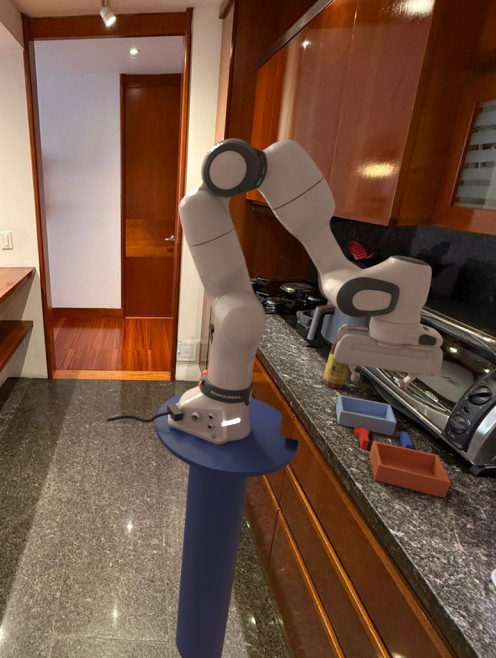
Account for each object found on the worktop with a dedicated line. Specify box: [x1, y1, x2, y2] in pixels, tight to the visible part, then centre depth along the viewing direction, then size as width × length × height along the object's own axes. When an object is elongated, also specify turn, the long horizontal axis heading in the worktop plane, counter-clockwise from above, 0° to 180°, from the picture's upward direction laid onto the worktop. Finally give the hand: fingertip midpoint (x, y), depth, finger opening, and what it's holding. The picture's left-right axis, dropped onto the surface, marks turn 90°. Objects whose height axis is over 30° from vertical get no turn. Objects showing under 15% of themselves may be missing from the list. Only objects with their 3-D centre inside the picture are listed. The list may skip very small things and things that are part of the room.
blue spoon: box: [399, 430, 414, 450], centre depth 93 cm, size 8×3×2 cm, turn 154°
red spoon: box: [353, 427, 370, 450], centre depth 96 cm, size 8×3×2 cm, turn 154°
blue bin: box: [335, 394, 397, 437], centre depth 104 cm, size 12×9×4 cm
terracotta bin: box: [368, 440, 451, 499], centre depth 84 cm, size 12×9×4 cm
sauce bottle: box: [322, 323, 350, 389], centre depth 119 cm, size 7×6×20 cm
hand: (377, 384), depth 91 cm, fingers open, 8 cm apart
